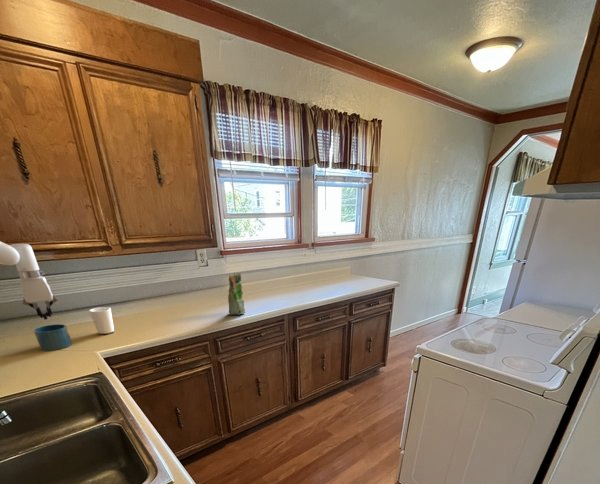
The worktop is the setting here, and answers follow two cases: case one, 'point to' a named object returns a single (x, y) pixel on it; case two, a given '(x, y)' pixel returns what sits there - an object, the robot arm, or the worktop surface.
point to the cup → (102, 320)
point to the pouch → (235, 295)
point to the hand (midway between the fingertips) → (46, 316)
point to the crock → (53, 337)
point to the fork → (45, 315)
